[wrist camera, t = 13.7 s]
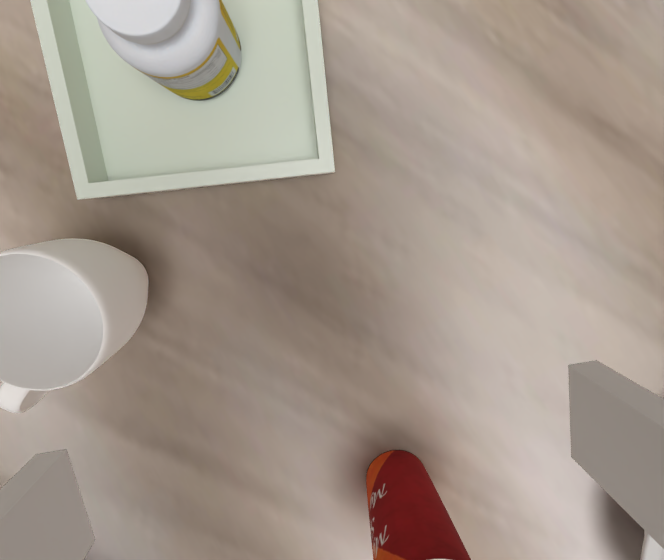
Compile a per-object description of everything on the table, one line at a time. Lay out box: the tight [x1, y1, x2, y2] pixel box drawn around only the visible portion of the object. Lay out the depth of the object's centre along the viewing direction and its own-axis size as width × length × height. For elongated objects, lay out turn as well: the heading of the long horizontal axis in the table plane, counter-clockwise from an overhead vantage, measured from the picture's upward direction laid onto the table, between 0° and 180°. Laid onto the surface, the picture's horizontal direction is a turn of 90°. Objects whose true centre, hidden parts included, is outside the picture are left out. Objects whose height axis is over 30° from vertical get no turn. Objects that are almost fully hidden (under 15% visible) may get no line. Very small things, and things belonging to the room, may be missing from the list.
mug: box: [0, 238, 149, 413], centre depth 29 cm, size 12×8×11 cm
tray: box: [30, 0, 335, 200], centre depth 29 cm, size 18×18×4 cm
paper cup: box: [366, 450, 471, 560], centre depth 33 cm, size 8×8×14 cm
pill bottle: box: [85, 0, 242, 101], centre depth 25 cm, size 6×6×12 cm
